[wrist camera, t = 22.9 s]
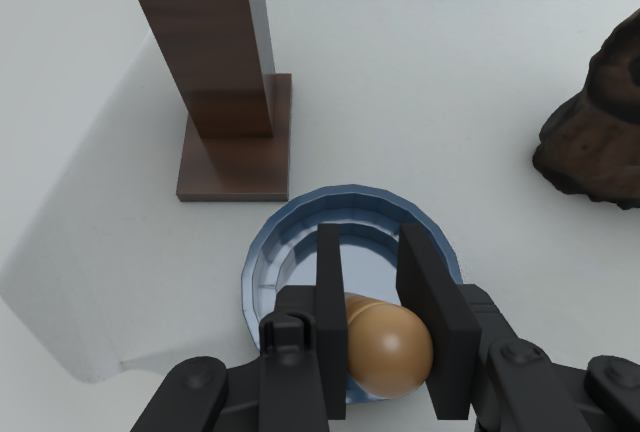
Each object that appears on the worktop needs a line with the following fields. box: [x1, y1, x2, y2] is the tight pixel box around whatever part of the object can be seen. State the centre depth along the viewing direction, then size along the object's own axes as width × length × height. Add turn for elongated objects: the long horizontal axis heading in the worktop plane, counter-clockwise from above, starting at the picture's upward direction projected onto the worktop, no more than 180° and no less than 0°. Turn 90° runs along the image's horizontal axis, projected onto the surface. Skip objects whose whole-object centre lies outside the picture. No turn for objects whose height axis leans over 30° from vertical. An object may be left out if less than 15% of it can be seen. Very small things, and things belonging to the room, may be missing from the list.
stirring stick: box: [344, 292, 434, 399], centre depth 22 cm, size 24×3×2 cm
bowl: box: [241, 184, 463, 404], centre depth 33 cm, size 16×16×6 cm
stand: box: [139, 0, 292, 201], centre depth 29 cm, size 15×10×30 cm, turn 0°
